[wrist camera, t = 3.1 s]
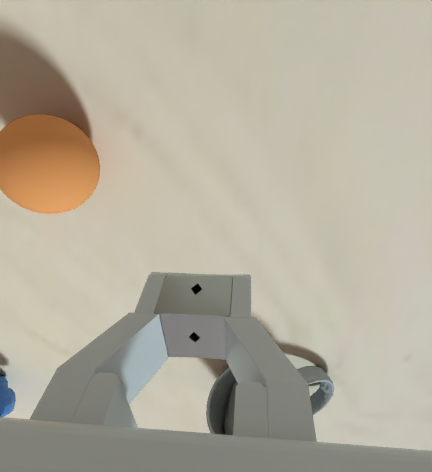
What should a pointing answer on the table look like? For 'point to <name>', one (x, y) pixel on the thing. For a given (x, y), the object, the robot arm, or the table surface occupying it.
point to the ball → (47, 164)
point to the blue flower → (6, 397)
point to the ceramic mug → (225, 389)
